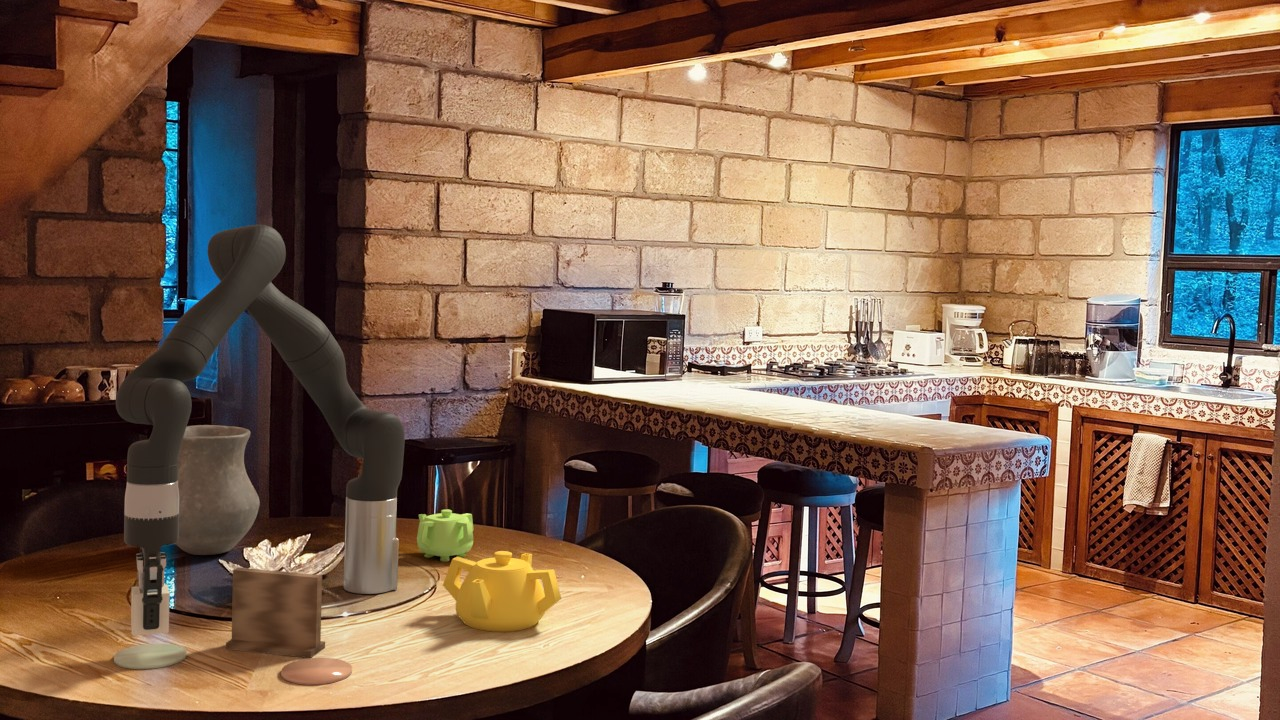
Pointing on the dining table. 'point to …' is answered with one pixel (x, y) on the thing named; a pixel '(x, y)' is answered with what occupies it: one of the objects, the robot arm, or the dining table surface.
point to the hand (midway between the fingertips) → (150, 622)
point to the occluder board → (276, 612)
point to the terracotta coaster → (316, 671)
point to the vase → (214, 489)
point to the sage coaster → (150, 656)
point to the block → (138, 612)
